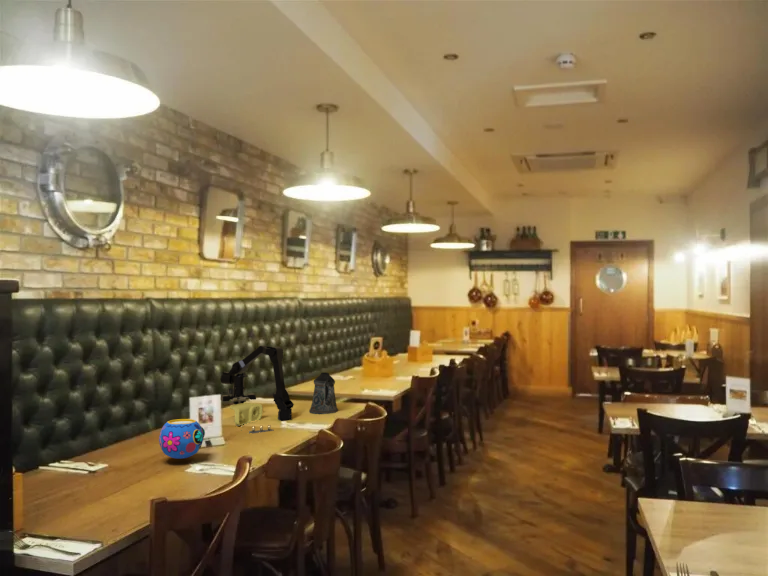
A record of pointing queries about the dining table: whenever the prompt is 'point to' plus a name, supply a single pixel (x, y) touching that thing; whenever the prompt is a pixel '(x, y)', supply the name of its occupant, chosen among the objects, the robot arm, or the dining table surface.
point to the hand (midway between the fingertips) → (238, 412)
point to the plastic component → (247, 412)
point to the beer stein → (324, 395)
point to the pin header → (260, 429)
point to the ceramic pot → (181, 438)
